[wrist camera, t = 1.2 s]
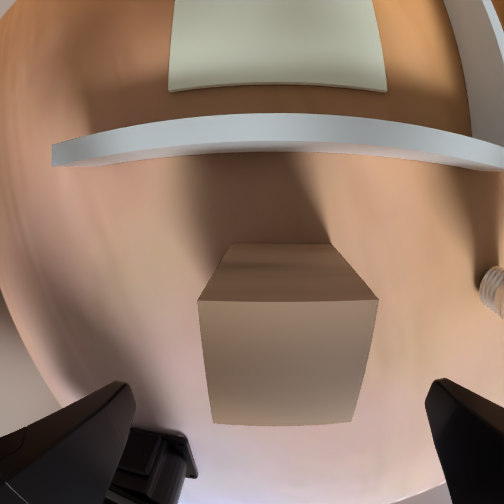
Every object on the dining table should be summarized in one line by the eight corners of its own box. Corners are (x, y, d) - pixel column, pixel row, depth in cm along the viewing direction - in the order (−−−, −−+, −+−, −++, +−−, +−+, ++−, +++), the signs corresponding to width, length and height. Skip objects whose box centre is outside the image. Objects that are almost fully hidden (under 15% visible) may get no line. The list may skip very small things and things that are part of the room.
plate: (384, 92, 12) (387, 90, 11) (170, 92, 13) (167, 90, 12) (355, -44, 9) (357, -47, 9) (183, -43, 10) (182, -46, 9)
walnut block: (324, 330, 15) (351, 421, 9) (235, 330, 16) (213, 423, 9) (331, 243, 14) (378, 299, 7) (231, 243, 14) (197, 300, 8)
